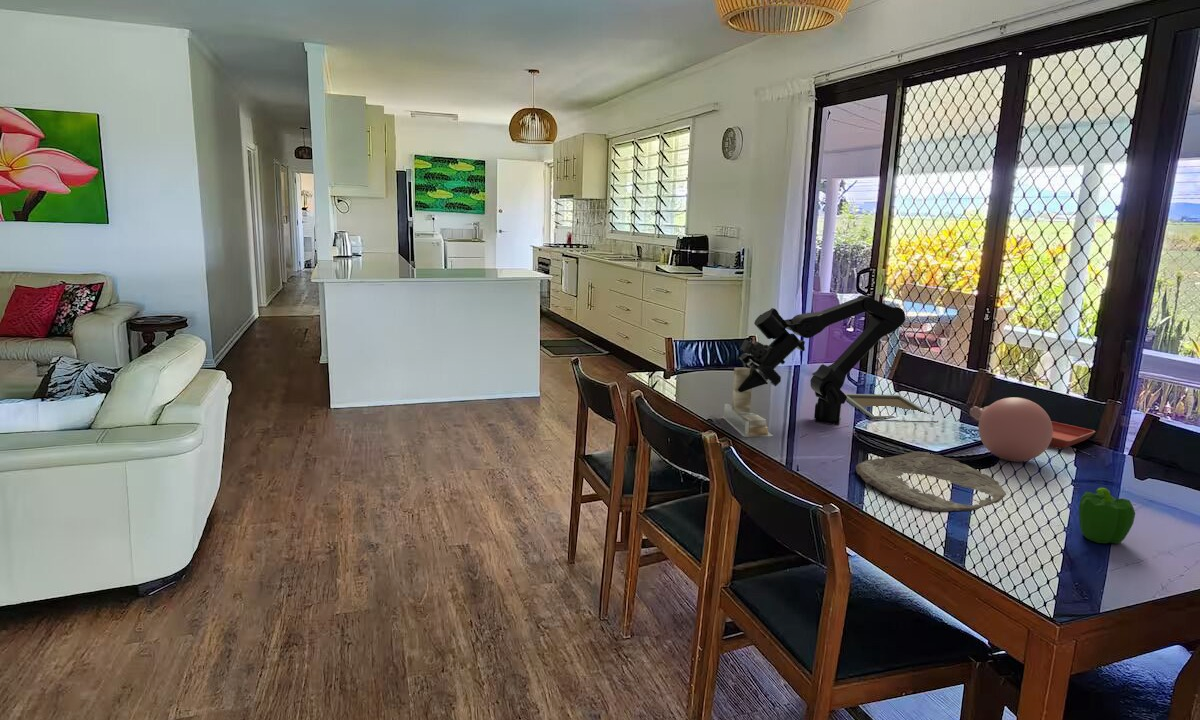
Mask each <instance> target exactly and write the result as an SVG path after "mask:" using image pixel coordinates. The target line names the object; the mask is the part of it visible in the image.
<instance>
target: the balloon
mask: <svg viewBox="0 0 1200 720" xmlns="http://www.w3.org/2000/svg"><path fill="white" fill-rule="evenodd" d="M969 415H970V416H971V417H972V418H974V419H975V421H978V427H977V428H978V433H979V435H978V436H979V438H980V440H981V442H982V444H983V446H984V447H985V448H986V449H987V450H988V451H989V452H990V453H991V454H992V455H994V456H995V457H997V458H1000V459H1002V460H1005V461H1008V462H1016V463H1017V462H1019V463H1020V462H1026V461H1030V460H1033V459H1035V458H1037V457H1040V455H1042V454H1043V453H1044V452H1045V451H1046V450H1047V449H1048V448H1049V447H1050V446H1049V444H1050V442H1051V440H1052V436H1053V426H1052V422H1051V421H1052V420H1051V418H1050V416H1049V414H1048V413H1047V411H1046V410H1045V409H1044V408H1043V407H1041V406H1040V405H1039V404H1038V403H1036V402H1034V401H1032V400H1030V399H1028V398H1024V397H1017V396H1016V397H1014V396H1013V397H1004V398H1002V399H998V400H996V401H994V402H993V403H991V404H990V405H987V406H984V407H978V406H977V405H976V406H975V405H974V406H973V407H971V408H970V409H969Z"/></svg>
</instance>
